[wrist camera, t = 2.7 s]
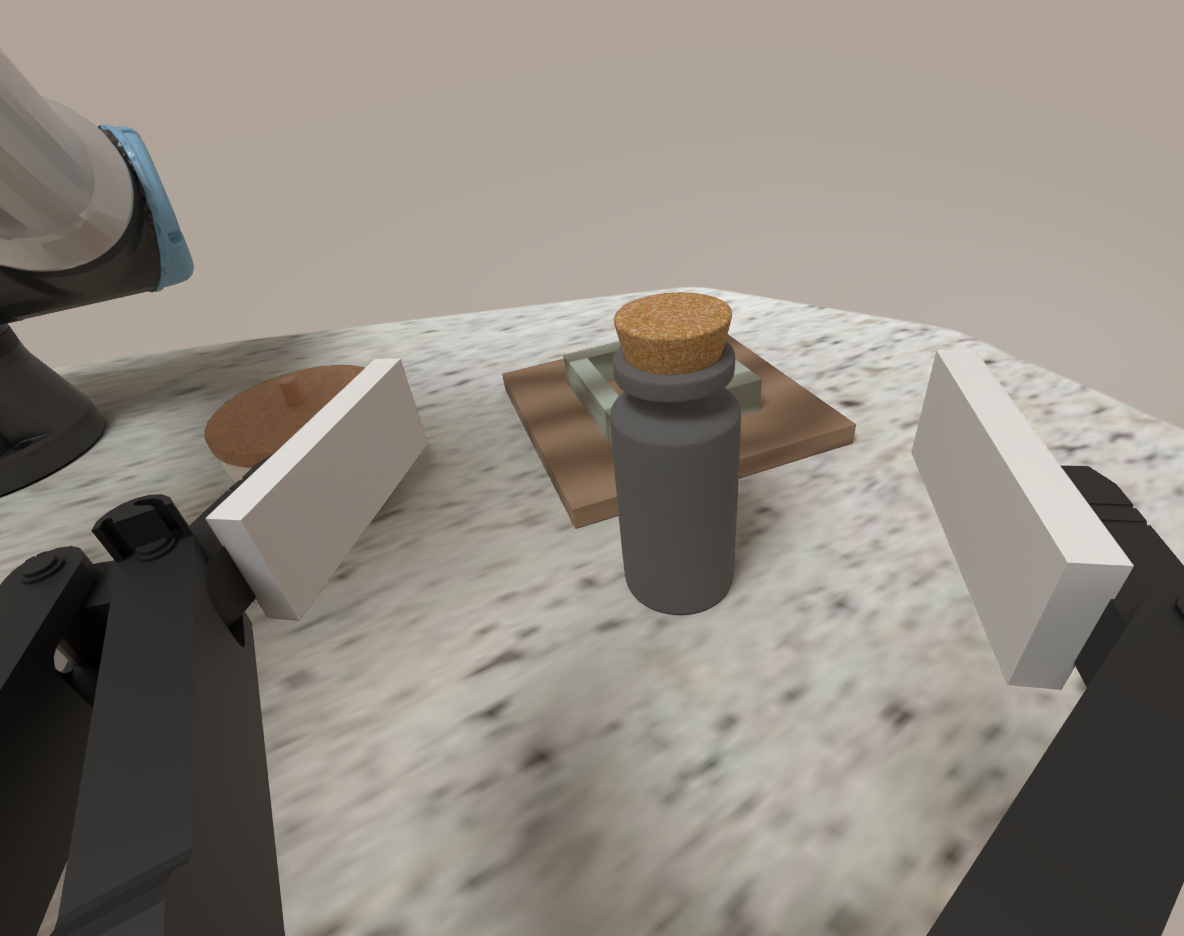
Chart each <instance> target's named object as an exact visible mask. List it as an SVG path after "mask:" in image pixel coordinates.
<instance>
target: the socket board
mask: <svg viewBox="0 0 1184 936" xmlns="http://www.w3.org/2000/svg"><path fill="white" fill-rule="evenodd" d="M726 342H728V343H729V344H730V345H731V346H732V348H733V349H734V352H735V372H734V377H733V379H732V380H731V382H730V383H729V384H728V385H727V386H726V387H725V388H726V389H728V390H729V391H730V392H731V393H732V394H733V395H734V396H735V397H736V399H737V400H738V402H739V404H740V409H741V434H740V457H739V476H738V478H741V477H744V476H747V475H751V474H754V473H757V472H760V471H764V470H767V469H770V468H773V467H776V466H780V465H783V464H786V463H789V462H793V461H796V460H799V459H802V458H806V457H809V456H812V455H815V454H819V453H822V452H825V451H828V450H832V449H835V448H838V447H841V446H844V445H848V444H851V443H853V438H854V433H855V427H856V424H855V423H853V422H852V421H851V420H849V419H848V418H846V417H845V416H843V415H842V414H841V413H839V412H838V411H836V410H835V409H833V408H832V407H831V406H829V405H828V404H826V403H825V402H823V401H822V400H821V399H819V398H818V397H816V396H815V395H813V394H812V393H811V392H809V391H808V390H806V389H805V388H803V387H802V386H801V385H799V384H798V383H796V382H795V381H794V380H792V379H791V378H789V377H788V376H786V375H785V374H784V373H782V372H781V371H779V370H778V369H776V368H775V367H774V366H772V365H771V364H769V363H768V362H766V361H765V360H764V359H762V358H761V357H759V356H758V355H756V354H755V353H754V352H752V351H751V350H749V349H748V348H746V347H745V346H744V345H742V344H741V343H739V342H738V341H737V340H735V339H734V338H732V337H731V336H729V335H728V334H727V337H726ZM620 347H621V344H620V341H619V342H615V343H611V344H607V345H603V346H599V347H595V348H590V349H586V350H582V351H578V352H574V353H570V354H566V355H563V356H564V359H561V360H557V361H552V362H548V363H544V364H540V365H536V366H532V367H528V368H524V369H520V370H516V371H512V372H507V373H503V374H502V376H503V381H504V385H505V390H506V392H507V394H508V396H509V398H510V400H511V401H512V403H513V405H514V407H515V409H516V411H517V413H518V415H519V417H520V419H521V421H522V423H523V425H524V427H525V429H526V431H527V433H528V435H529V437H530V439H531V441H532V443H533V445H534V447H535V449H536V451H537V453H538V455H539V457H540V459H541V461H542V463H543V465H544V467H545V469H546V471H547V473H548V475H549V477H550V479H551V481H552V483H553V485H554V487H555V489H556V491H557V493H558V495H559V497H560V499H561V501H562V503H563V505H564V507H565V509H566V511H567V513H568V515H569V517H570V519H571V521H572V523H573V525H574V527H575V529H576V528H579V527H582V526H585V525H589V524H592V523H595V522H598V521H602V520H605V519H608V518H611V517H615V516H618V515H619V513H618V503H617V493H616V482H615V472H614V462H613V450H612V439H611V425H610V411H611V408H612V405H613V403H614V402H615V400H616V399H617V398H618V397H619V396H620V395H621V394H622V393H623V392H624V391H623V390H622V389H620V388H619V386H618V385H617V383H616V382H615V378H614V370H613V358H614V355H615V353H616V351H617V350H618V349H619V348H620Z"/></svg>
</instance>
